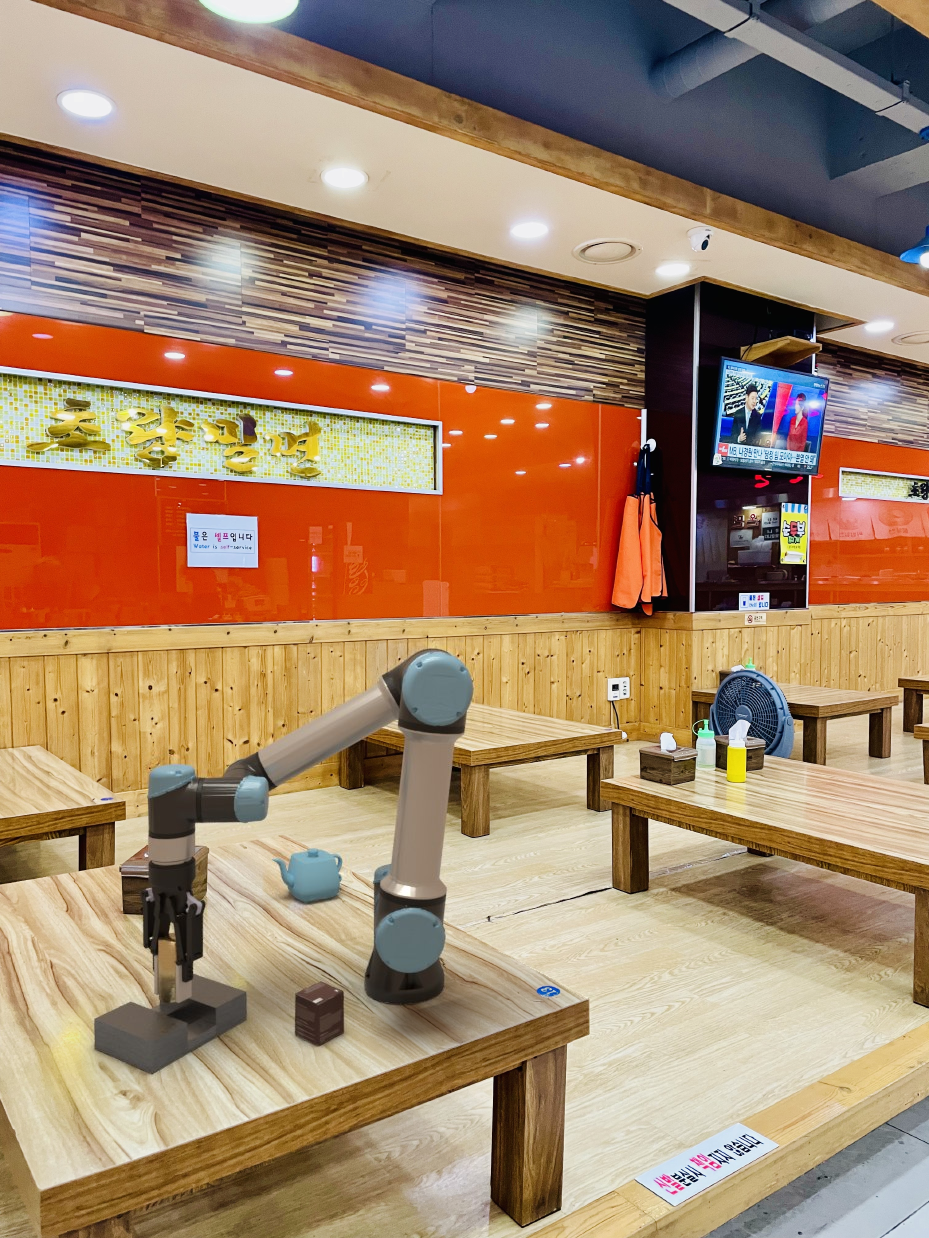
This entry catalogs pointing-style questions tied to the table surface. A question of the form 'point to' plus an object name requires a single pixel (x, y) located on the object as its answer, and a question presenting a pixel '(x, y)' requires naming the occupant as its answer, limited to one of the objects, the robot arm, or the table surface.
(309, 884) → the teapot
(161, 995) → the gold cylinder
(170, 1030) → the jig
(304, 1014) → the box
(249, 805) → the robot arm
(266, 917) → the table surface
